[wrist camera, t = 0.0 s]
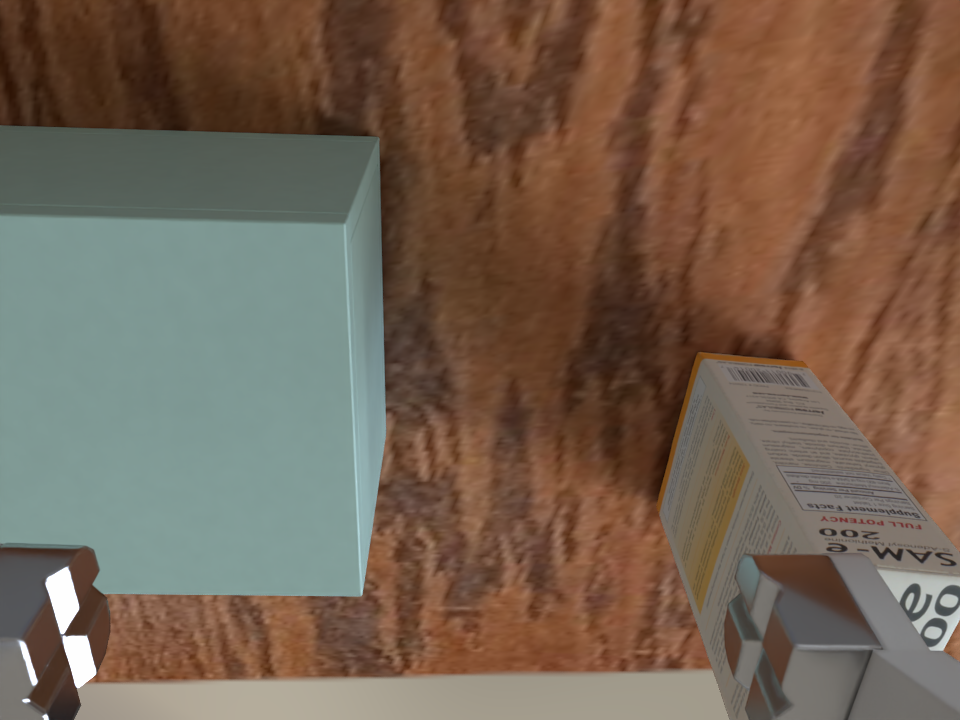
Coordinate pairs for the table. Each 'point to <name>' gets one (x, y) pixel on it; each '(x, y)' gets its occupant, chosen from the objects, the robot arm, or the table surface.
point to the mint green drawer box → (193, 355)
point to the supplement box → (789, 499)
